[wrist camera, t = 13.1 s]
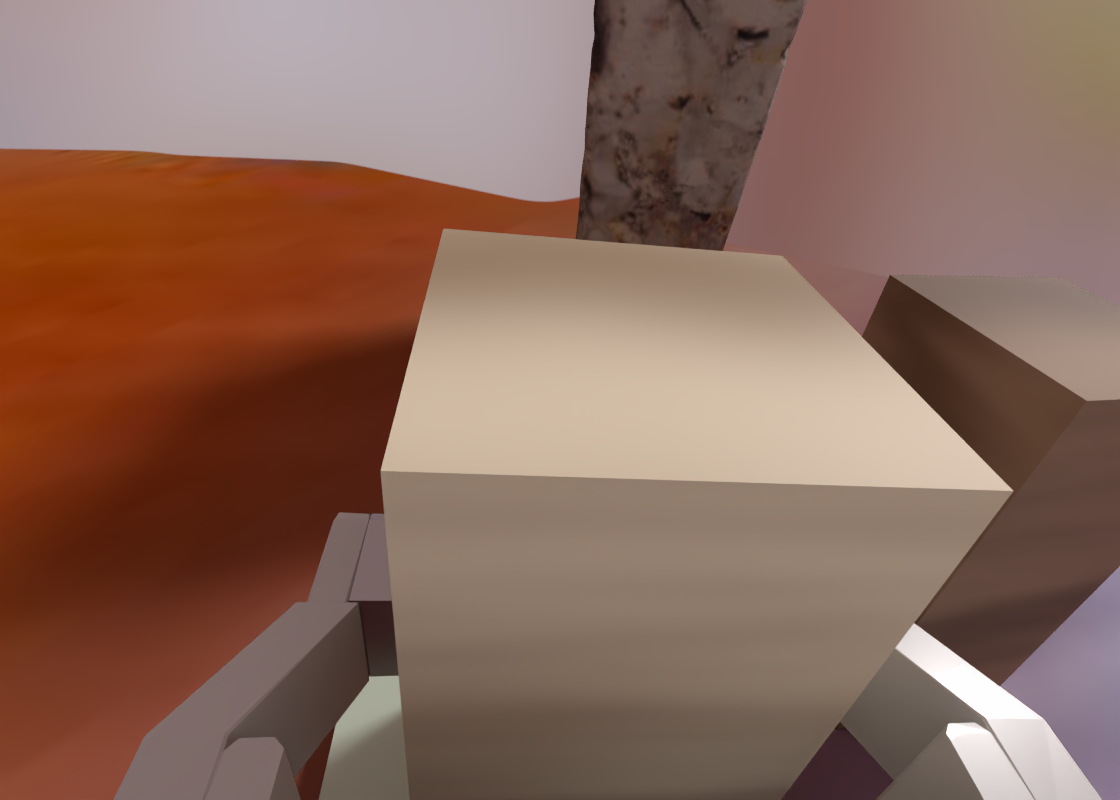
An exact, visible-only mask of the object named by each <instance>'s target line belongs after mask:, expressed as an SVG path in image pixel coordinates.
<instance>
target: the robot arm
mask: <svg viewBox="0 0 1120 800" xmlns="http://www.w3.org/2000/svg"><path fill="white" fill-rule="evenodd" d="M376 676H399V674H398V663H397V652H396V641H395V629H394V618H393V607H392V595H391V584H390V573H389V562H388V550H387V539H386V528H385V516H384V514H375V513H373V514H364V513H342V512H339V513H338V515H337V516H336V518H335V519H334V520H333V523H332V526H331V530H330V533H329V536H328V539H327V542H326V545H325V548H324V551H323V554H322V557H321V560H320V563H319V566H318V570H317V573H316V576H315V579H314V582H313V585H312V588H311V591H310V594H309V597H308V600H307V602H296V603H295V604H294V605H293V606H291V607H290V608H289V609H288V610H287V611H286V612H285V613H284V614H282V615H281V616H280V617H279V618H278V619H277V620H276V621H274V622H273V623H272V624H271V625H270V626H269V627H268V628H267V629H265V630H264V631H263V632H262V633H261V634H260V635H259V636H257V637H256V638H255V639H254V640H253V641H252V642H251V643H250V644H248V645H247V646H246V647H245V648H244V649H243V650H242V651H240V652H239V653H238V654H237V655H236V656H235V657H234V658H233V659H231V660H230V661H229V662H228V663H227V664H226V665H225V666H223V667H222V668H221V669H220V670H219V671H218V672H217V673H216V674H214V675H213V676H212V677H211V678H210V679H209V680H208V681H206V682H205V683H204V684H203V685H202V686H201V687H200V688H199V689H197V690H196V691H195V692H194V693H193V694H192V695H191V696H189V697H188V698H187V699H186V700H185V701H184V702H183V703H181V704H180V705H179V706H178V707H177V708H176V709H175V710H174V711H172V712H171V713H170V714H169V715H168V716H167V717H166V718H164V719H163V720H162V721H161V722H160V723H159V724H158V725H157V726H155V727H154V728H153V729H152V730H151V731H150V732H149V733H147V734H146V735H145V736H144V738H143V740H142V742H141V744H140V747H139V749H138V751H137V753H136V755H135V757H134V759H133V761H132V763H131V765H130V767H129V769H128V771H127V773H126V775H125V777H124V780H123V782H122V784H121V786H120V788H119V790H118V792H117V794H116V796H115V798H114V800H301V798H300V795H299V792H298V789H297V786H296V783H295V780H294V778H295V777H296V775H297V774H298V773H299V771H300V770H301V769H302V768H303V766H304V765H305V764H306V762H307V761H308V760H309V758H310V757H311V756H312V755H313V753H314V752H315V751H316V749H317V748H318V747H319V745H320V744H321V743H322V741H323V740H324V739H325V738H326V736H327V735H328V734H329V732H330V731H331V730H332V728H333V727H334V726H335V725H336V723H337V722H338V721H339V719H340V718H341V717H342V715H343V714H344V713H345V712H346V710H347V709H348V708H349V706H350V705H351V704H352V702H353V701H354V700H355V698H356V697H357V696H358V695H359V693H360V692H361V691H362V689H363V688H364V687H365V685H366V684H367V683H368V682H369V677H376ZM840 722H841V723H842V724H843V725H844V727H845V728H846V729H847V730H848V731H849V732H850V733H851V734H852V735H853V736H854V737H855V739H856V740H857V741H858V742H859V743H860V744H861V745H862V746H863V747H864V748H865V749H866V751H867V752H868V753H869V754H870V755H871V756H872V757H873V758H874V759H875V760H876V761H877V763H878V764H879V765H880V766H881V767H882V768H883V769H884V770H885V771H886V772H887V774H888V775H889V776H890V777H891V778H892V779H893V780H894V781H893V782H892V783H891V784H890V785H889V786H888V787H887V788H886V789H885V790H884V791H883V792H882V793H881V794H880V795H879V796H878V797H877V798H876V800H1102V799H1101V798H1100V796H1099V795H1098V794H1097V792H1096V791H1095V789H1094V788H1093V787H1092V785H1091V784H1090V782H1089V781H1088V780H1087V778H1086V777H1085V776H1084V774H1083V773H1082V771H1081V770H1080V769H1079V767H1078V766H1077V764H1076V763H1075V762H1074V760H1073V759H1072V757H1071V756H1070V755H1069V753H1068V752H1067V751H1066V749H1065V748H1064V746H1063V745H1062V744H1061V742H1060V741H1059V739H1058V738H1057V737H1056V735H1055V734H1054V733H1053V731H1052V730H1051V728H1050V727H1049V726H1048V724H1047V723H1046V721H1045V720H1044V719H1043V718H1041V717H1040V716H1039V715H1037V714H1036V713H1035V712H1033V711H1032V710H1031V709H1029V708H1028V707H1027V706H1025V705H1024V704H1023V703H1021V702H1020V701H1019V700H1017V699H1016V698H1014V697H1013V696H1012V695H1010V694H1009V693H1008V692H1006V691H1005V690H1004V689H1002V688H1001V687H1000V686H998V685H997V684H996V683H994V682H993V681H992V680H990V679H989V678H987V677H986V676H985V675H983V674H982V673H981V672H979V671H978V670H977V669H975V668H974V667H973V666H971V665H970V664H969V663H967V662H966V661H965V660H963V659H962V658H960V657H959V656H958V655H956V654H955V653H954V652H952V651H951V650H950V649H948V648H947V647H946V646H944V645H943V644H942V643H940V642H939V641H938V640H936V639H935V638H933V637H932V636H931V635H929V634H928V633H927V632H925V631H924V630H923V629H921V628H920V627H919V626H917V625H916V624H915V623H914V624H913V625H912V626H911V628H910V629H909V630H908V632H907V633H906V634H905V636H904V637H903V638H902V640H901V641H900V642H899V644H898V645H897V646H896V648H895V649H894V650H893V652H892V653H891V654H890V656H889V657H888V658H887V660H886V661H885V662H884V664H883V665H882V666H881V668H880V669H879V670H878V672H877V673H876V674H875V676H874V677H873V678H872V680H871V681H870V682H869V684H868V685H867V686H866V688H865V689H864V690H863V692H862V693H861V694H860V696H859V697H858V698H857V699H856V701H855V702H854V703H853V705H852V706H851V707H850V709H849V710H848V711H847V713H846V714H845V715H844V717H843V718H842V719H841V721H840Z"/></svg>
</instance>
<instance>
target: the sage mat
mask: <svg viewBox="0 0 1120 800" xmlns="http://www.w3.org/2000/svg"><path fill="white" fill-rule="evenodd" d="M319 800H410V799H409V787H408V776H407V765H406V753H405V742H404V731H403V720H402V708H401V697H400V686H399V676H376V677H369V682H368V683H367V684H366V685H365V687H364V688H363V689H362V691H361V692H360V693H359V695H358V696H357V697H356V698H355V700H354V701H353V702H352V704H351V705H350V706H349V708H348V709H347V710H346V712H345V713H344V714H343V715H342V717H341V718H340V719H339V721H338V722H337V723H336V726H335V730H334V735H333V739H332V743H331V748H330V752H329V757H328V761H327V765H326V770H325V774H324V778H323V783H322V787H321V792H320V796H319Z"/></svg>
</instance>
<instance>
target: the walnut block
mask: <svg viewBox="0 0 1120 800" xmlns="http://www.w3.org/2000/svg"><path fill="white" fill-rule="evenodd" d="M862 338H863V339H864V340H865V341H866V342H867V343H868V344H869V345H870V346H871V347H872V348H873V349H874V350H875V351H876V352H877V353H878V354H879V355H880V356H881V357H882V358H883V359H884V360H885V361H886V362H887V363H888V364H889V365H890V366H891V367H892V368H893V369H894V370H895V371H896V372H897V373H898V374H899V375H900V376H901V377H902V378H903V379H904V380H905V381H906V382H907V383H908V384H909V385H910V386H911V387H912V388H913V389H914V390H915V391H916V392H917V393H918V394H919V395H920V397H921V398H922V399H923V400H924V401H925V402H926V403H927V404H928V405H929V406H930V407H931V408H932V409H933V410H934V411H935V412H936V413H937V414H938V415H939V416H940V417H941V418H942V419H943V420H944V421H945V422H946V423H947V424H948V425H949V426H950V427H951V428H952V429H953V430H954V431H955V432H956V433H957V434H958V435H959V436H960V437H961V438H962V439H963V440H964V441H965V442H966V443H967V444H968V445H969V446H970V447H971V448H972V449H973V450H974V451H975V452H976V453H977V454H978V455H979V456H980V457H981V458H982V459H983V461H984V462H985V463H986V464H987V465H988V466H989V467H990V468H991V469H992V470H993V471H994V472H995V473H996V474H997V475H998V476H999V477H1000V478H1001V479H1002V480H1003V481H1004V482H1005V483H1006V484H1007V485H1008V486H1009V487H1010V488H1011V489H1012V490H1013V492H1012V494H1011V495H1010V496H1009V498H1008V499H1007V500H1006V502H1005V503H1004V504H1003V506H1002V507H1001V508H1000V510H999V511H998V512H997V514H996V515H995V516H994V518H993V519H992V520H991V522H990V523H989V524H988V526H987V527H986V528H985V530H984V531H983V532H982V534H981V535H980V536H979V537H978V539H977V540H976V541H975V543H974V544H973V545H972V547H971V548H970V549H969V551H968V552H967V553H966V555H965V556H964V557H963V559H962V560H961V561H960V563H959V564H958V565H957V567H956V568H955V569H954V571H953V572H952V573H951V575H950V576H949V577H948V579H947V580H946V581H945V583H944V584H943V585H942V587H941V588H940V589H939V591H938V592H937V593H936V595H935V596H934V597H933V599H932V600H931V601H930V603H929V604H928V605H927V607H926V608H925V609H924V611H923V612H922V613H921V615H920V616H919V617H918V618H917V620H916V621H915V622H914V623H915V624H916V625H917V626H919V627H920V628H921V629H923V630H924V631H925V632H927V633H928V634H929V635H931V636H932V637H933V638H935V639H936V640H938V641H939V642H940V643H942V644H943V645H944V646H946V647H947V648H948V649H950V650H951V651H952V652H954V653H955V654H956V655H958V656H959V657H960V658H962V659H963V660H965V661H966V662H967V663H969V664H970V665H971V666H973V667H974V668H975V669H977V670H978V671H979V672H981V673H982V674H983V675H985V676H986V677H987V678H989V679H990V680H992V681H993V682H994V683H996V684H997V685H998V686H1000V685H1001V684H1002V683H1003V682H1004V681H1005V680H1006V679H1007V678H1008V677H1009V676H1010V675H1011V674H1012V673H1013V672H1014V671H1015V670H1016V669H1017V668H1018V667H1019V666H1020V665H1021V664H1022V663H1023V662H1024V661H1025V660H1026V659H1027V658H1028V657H1029V656H1030V655H1031V654H1032V653H1033V652H1034V651H1035V650H1036V649H1037V648H1038V647H1039V646H1040V645H1041V644H1042V643H1043V642H1044V641H1045V640H1046V639H1047V638H1048V637H1049V636H1050V635H1051V634H1052V633H1053V632H1054V631H1055V630H1056V629H1057V628H1058V627H1059V626H1060V625H1061V624H1062V623H1063V622H1064V621H1065V620H1066V619H1067V618H1068V617H1069V616H1070V615H1071V614H1072V613H1073V612H1074V611H1075V610H1076V609H1077V608H1078V607H1079V606H1080V605H1081V604H1082V603H1083V602H1084V601H1085V600H1086V599H1087V598H1088V597H1089V596H1090V595H1091V594H1092V593H1093V592H1094V591H1095V590H1096V589H1097V588H1098V587H1099V586H1100V585H1101V584H1102V583H1103V582H1104V581H1105V580H1106V579H1107V578H1108V577H1109V576H1110V575H1111V574H1112V573H1113V572H1114V571H1115V570H1116V569H1117V568H1118V567H1119V566H1120V307H1118V306H1116V305H1114V304H1112V303H1110V302H1108V301H1106V300H1104V299H1102V298H1099V297H1097V296H1095V295H1093V294H1091V293H1089V292H1087V291H1085V290H1083V289H1081V288H1079V287H1077V286H1075V285H1073V284H1070V283H1068V282H1066V281H1064V280H1062V279H1060V278H1058V277H1057V278H1055V277H993V276H927V275H923V276H922V275H890V276H889V279H888V281H887V283H886V285H885V287H884V290H883V292H882V294H881V296H880V298H879V300H878V303H877V305H876V307H875V309H874V311H873V314H872V316H871V318H870V320H869V322H868V325H867V327H866V329H865V331H864V333H863V335H862ZM843 728H845V727H844V725H843V724H842V723H841V722H839V723H838V725H837V726H836V729H837V730H838V729H843Z"/></svg>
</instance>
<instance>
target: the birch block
mask: <svg viewBox="0 0 1120 800" xmlns="http://www.w3.org/2000/svg"><path fill="white" fill-rule="evenodd" d="M381 483H382V494H383V505H384V516H385V528H386V539H387V550H388V562H389V573H390V584H391V595H392V607H393V618H394V629H395V641H396V652H397V663H398V674H399V686H400V697H401V708H402V720H403V731H404V742H405V753H406V765H407V776H408V787H409V799H410V800H781V799H782V798H783V796H784V795H785V794H786V792H787V791H788V790H789V788H790V787H791V786H792V784H793V783H794V782H795V780H796V779H797V778H798V777H799V775H800V774H801V773H802V771H803V770H804V769H805V767H806V766H807V765H808V763H809V762H810V761H811V759H812V758H813V757H814V755H815V754H816V753H817V751H818V750H819V749H820V747H821V746H822V745H823V743H824V742H825V741H826V739H827V738H828V737H829V735H830V734H831V733H832V731H833V730H834V729H835V727H836V726H837V725H838V723H839V722H840V721H841V719H842V718H843V717H844V715H845V714H846V713H847V711H848V710H849V709H850V707H851V706H852V705H853V703H854V702H855V701H856V699H857V698H858V697H859V696H860V694H861V693H862V692H863V690H864V689H865V688H866V686H867V685H868V684H869V682H870V681H871V680H872V678H873V677H874V676H875V674H876V673H877V672H878V670H879V669H880V668H881V666H882V665H883V664H884V662H885V661H886V660H887V658H888V657H889V656H890V654H891V653H892V652H893V650H894V649H895V648H896V646H897V645H898V644H899V642H900V641H901V640H902V638H903V637H904V636H905V634H906V633H907V632H908V630H909V629H910V628H911V626H912V625H913V624H914V622H915V621H916V620H917V618H918V617H919V616H920V615H921V613H922V612H923V611H924V609H925V608H926V607H927V605H928V604H929V603H930V601H931V600H932V599H933V597H934V596H935V595H936V593H937V592H938V591H939V589H940V588H941V587H942V585H943V584H944V583H945V581H946V580H947V579H948V577H949V576H950V575H951V573H952V572H953V571H954V569H955V568H956V567H957V565H958V564H959V563H960V561H961V560H962V559H963V557H964V556H965V555H966V553H967V552H968V551H969V549H970V548H971V547H972V545H973V544H974V543H975V541H976V540H977V539H978V537H979V536H980V535H981V534H982V532H983V531H984V530H985V528H986V527H987V526H988V524H989V523H990V522H991V520H992V519H993V518H994V516H995V515H996V514H997V512H998V511H999V510H1000V508H1001V507H1002V506H1003V504H1004V503H1005V502H1006V500H1007V499H1008V498H1009V496H1010V495H1011V494H1012V492H1013V490H1012V489H1011V488H1010V487H1009V486H1008V485H1007V484H1006V483H1005V482H1004V481H1003V480H1002V479H1001V478H1000V477H999V476H998V475H997V474H996V473H995V472H994V471H993V470H992V469H991V468H990V467H989V466H988V465H987V464H986V463H985V462H984V461H983V459H982V458H981V457H980V456H979V455H978V454H977V453H976V452H975V451H974V450H973V449H972V448H971V447H970V446H969V445H968V444H967V443H966V442H965V441H964V440H963V439H962V438H961V437H960V436H959V435H958V434H957V433H956V432H955V431H954V430H953V429H952V428H951V427H950V426H949V425H948V424H947V423H946V422H945V421H944V420H943V419H942V418H941V417H940V416H939V415H938V414H937V413H936V412H935V411H934V410H933V409H932V408H931V407H930V406H929V405H928V404H927V403H926V402H925V401H924V400H923V399H922V398H921V397H920V395H919V394H918V393H917V392H916V391H915V390H914V389H913V388H912V387H911V386H910V385H909V384H908V383H907V382H906V381H905V380H904V379H903V378H902V377H901V376H900V375H899V374H898V373H897V372H896V371H895V370H894V369H893V368H892V367H891V366H890V365H889V364H888V363H887V362H886V361H885V360H884V359H883V358H882V357H881V356H880V355H879V354H878V353H877V352H876V351H875V350H874V349H873V348H872V347H871V346H870V345H869V344H868V343H867V342H866V341H865V340H864V339H863V338H862V337H861V336H860V335H859V334H858V333H857V332H856V330H855V329H854V328H853V327H852V326H851V325H850V324H849V323H848V322H847V321H846V320H845V319H844V318H843V317H842V316H841V315H840V314H839V313H838V312H837V311H836V310H835V309H834V308H833V307H832V306H831V305H830V304H829V303H828V302H827V301H826V300H825V299H824V298H823V297H822V296H821V295H820V294H819V293H818V292H817V291H816V290H815V289H814V288H813V287H812V286H811V285H810V284H809V283H808V282H807V281H806V280H805V279H804V278H803V277H802V276H801V275H800V274H799V273H798V272H797V271H796V270H795V269H794V268H793V267H792V265H791V264H790V263H789V262H788V261H787V260H786V259H785V258H784V257H783V256H777V255H764V254H752V253H739V252H727V251H715V250H702V249H690V248H677V247H665V246H652V245H640V244H628V243H615V242H603V241H590V240H578V239H566V238H553V237H541V236H528V235H516V234H503V233H491V232H479V231H466V230H454V229H443V232H442V236H441V240H440V244H439V248H438V251H437V255H436V259H435V263H434V267H433V271H432V275H431V278H430V282H429V286H428V290H427V294H426V298H425V301H424V305H423V309H422V313H421V317H420V321H419V325H418V328H417V332H416V336H415V340H414V344H413V348H412V352H411V355H410V359H409V363H408V367H407V371H406V375H405V378H404V382H403V386H402V390H401V394H400V398H399V402H398V405H397V409H396V413H395V417H394V421H393V425H392V428H391V432H390V436H389V440H388V444H387V448H386V452H385V455H384V459H383V463H382V467H381Z"/></svg>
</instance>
